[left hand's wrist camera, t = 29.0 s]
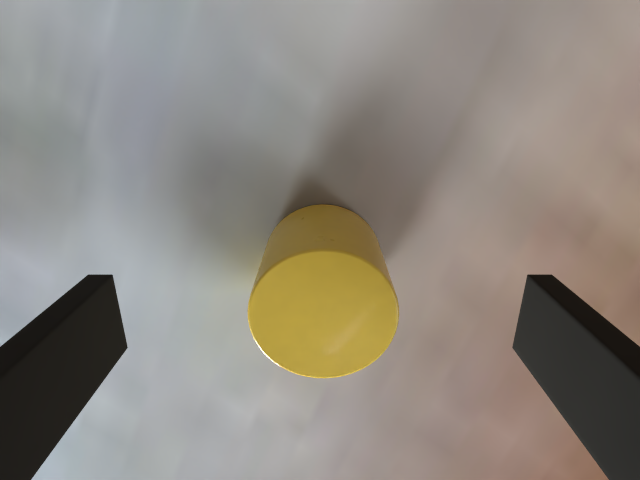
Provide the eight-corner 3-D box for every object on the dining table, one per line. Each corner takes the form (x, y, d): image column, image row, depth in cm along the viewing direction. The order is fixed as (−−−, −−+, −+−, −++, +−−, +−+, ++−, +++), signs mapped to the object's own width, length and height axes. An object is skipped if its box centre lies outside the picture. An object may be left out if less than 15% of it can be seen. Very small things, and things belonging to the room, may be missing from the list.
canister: (354, 321, 18) (363, 395, 13) (251, 288, 17) (229, 355, 13) (399, 227, 16) (425, 279, 12) (287, 186, 15) (274, 226, 11)
